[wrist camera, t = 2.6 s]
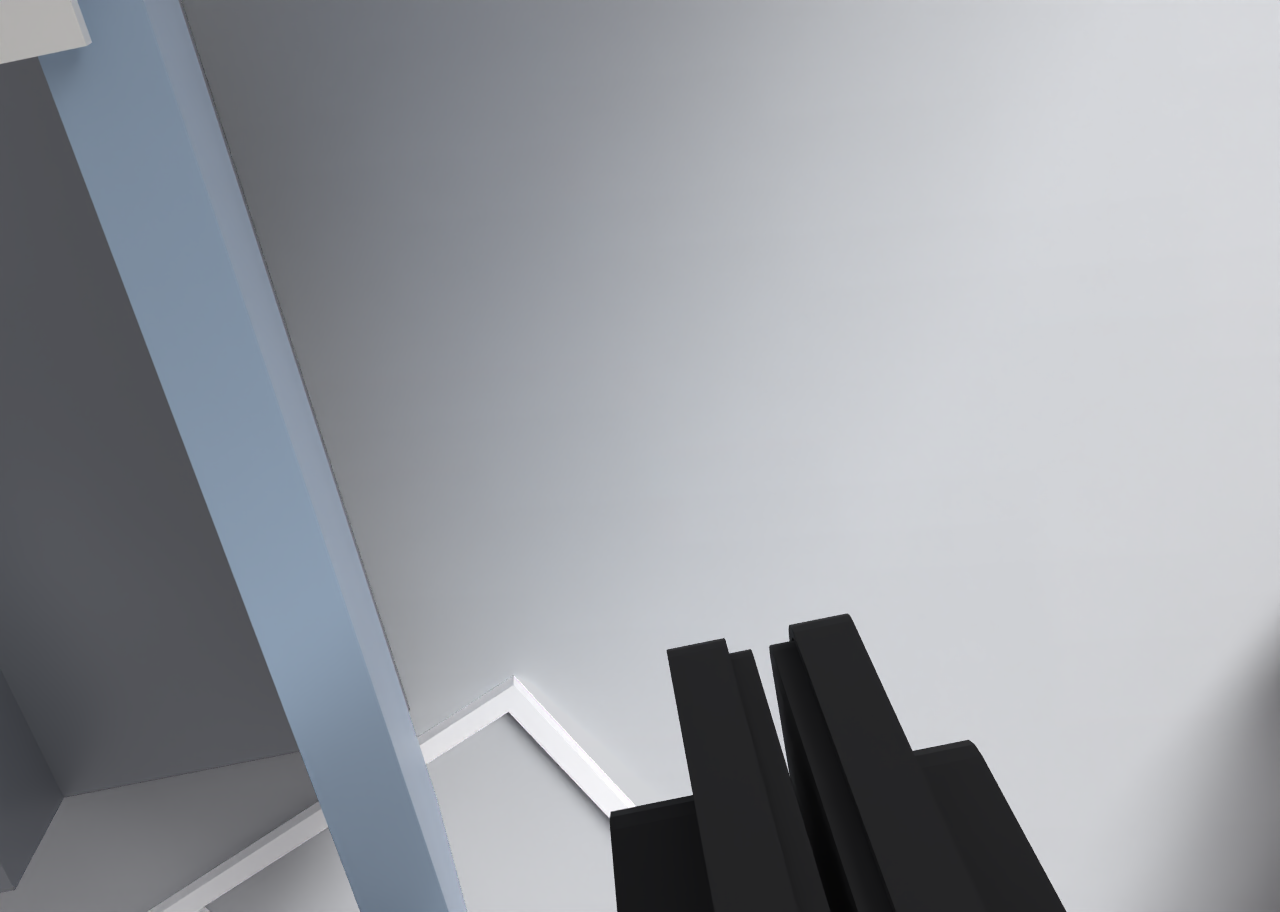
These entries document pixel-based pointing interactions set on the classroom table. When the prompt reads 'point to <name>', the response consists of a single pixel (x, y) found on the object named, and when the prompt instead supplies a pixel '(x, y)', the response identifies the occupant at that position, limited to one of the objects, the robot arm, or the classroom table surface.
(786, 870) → the robot arm
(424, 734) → the photo frame
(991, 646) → the classroom table surface
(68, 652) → the cable duct
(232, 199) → the duct cover
